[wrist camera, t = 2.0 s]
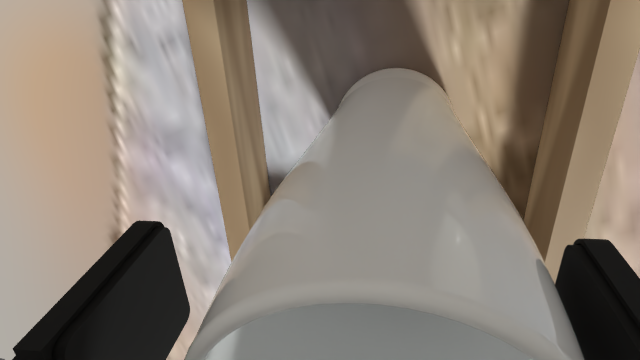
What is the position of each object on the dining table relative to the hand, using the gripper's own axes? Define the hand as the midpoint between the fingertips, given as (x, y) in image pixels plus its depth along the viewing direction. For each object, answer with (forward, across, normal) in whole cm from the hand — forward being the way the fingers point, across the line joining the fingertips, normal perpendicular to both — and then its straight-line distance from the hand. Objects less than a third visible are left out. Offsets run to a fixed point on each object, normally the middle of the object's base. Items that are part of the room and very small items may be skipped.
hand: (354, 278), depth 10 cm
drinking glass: (+11, -1, 0) cm, 11 cm away
